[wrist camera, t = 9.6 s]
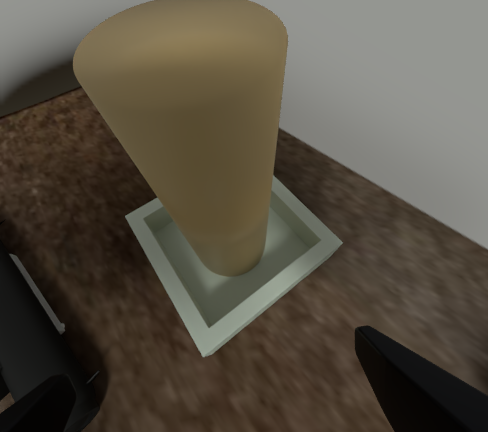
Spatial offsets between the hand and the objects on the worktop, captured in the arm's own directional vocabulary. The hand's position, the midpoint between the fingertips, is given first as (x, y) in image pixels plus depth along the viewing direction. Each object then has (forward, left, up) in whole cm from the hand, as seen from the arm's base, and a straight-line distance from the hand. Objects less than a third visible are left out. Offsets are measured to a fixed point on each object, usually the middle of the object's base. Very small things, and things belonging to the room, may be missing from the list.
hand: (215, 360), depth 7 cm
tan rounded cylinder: (+6, -4, -9) cm, 11 cm away
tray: (+6, -4, -9) cm, 12 cm away
